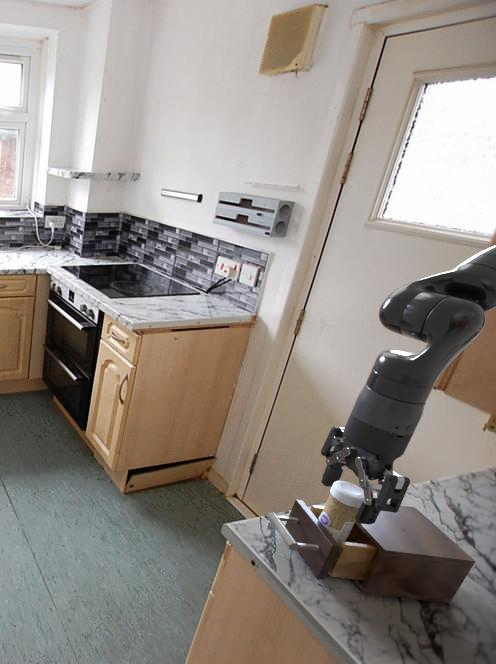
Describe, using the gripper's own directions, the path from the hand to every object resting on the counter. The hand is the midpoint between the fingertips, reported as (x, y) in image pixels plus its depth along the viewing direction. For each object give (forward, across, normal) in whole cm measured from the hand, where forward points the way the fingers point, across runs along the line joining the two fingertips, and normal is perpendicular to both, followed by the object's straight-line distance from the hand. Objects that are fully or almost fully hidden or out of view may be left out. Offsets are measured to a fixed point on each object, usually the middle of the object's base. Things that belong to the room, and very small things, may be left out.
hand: (344, 502), depth 75 cm
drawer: (+12, 0, 0) cm, 12 cm away
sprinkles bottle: (+11, 0, 0) cm, 11 cm away
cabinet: (+13, 0, +10) cm, 16 cm away
